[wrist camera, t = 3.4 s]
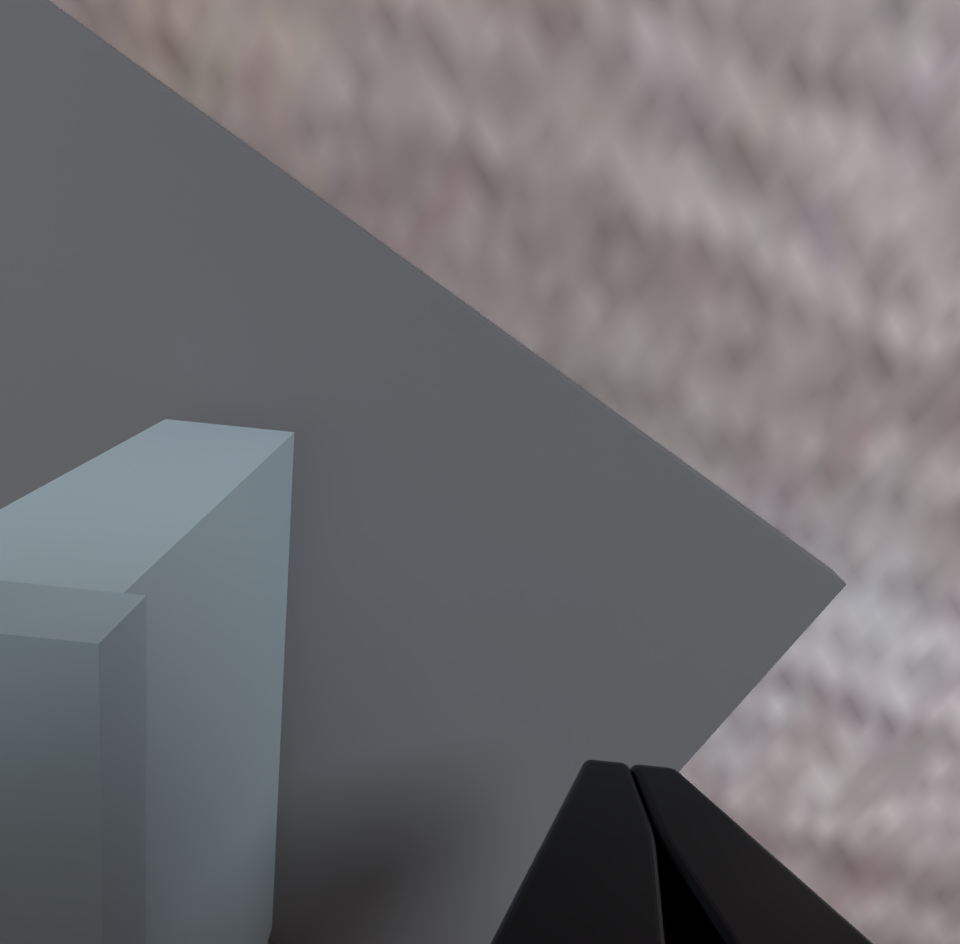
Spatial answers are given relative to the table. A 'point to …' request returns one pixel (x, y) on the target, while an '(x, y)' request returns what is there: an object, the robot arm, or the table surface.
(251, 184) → the mat
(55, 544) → the gate
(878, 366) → the table surface
